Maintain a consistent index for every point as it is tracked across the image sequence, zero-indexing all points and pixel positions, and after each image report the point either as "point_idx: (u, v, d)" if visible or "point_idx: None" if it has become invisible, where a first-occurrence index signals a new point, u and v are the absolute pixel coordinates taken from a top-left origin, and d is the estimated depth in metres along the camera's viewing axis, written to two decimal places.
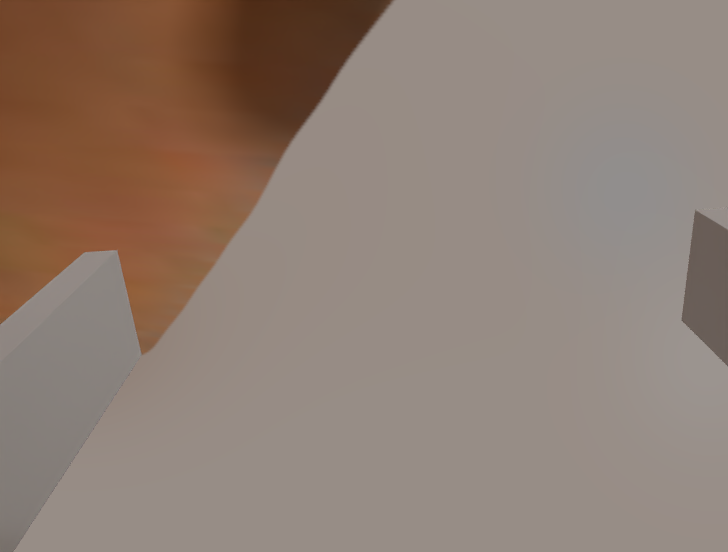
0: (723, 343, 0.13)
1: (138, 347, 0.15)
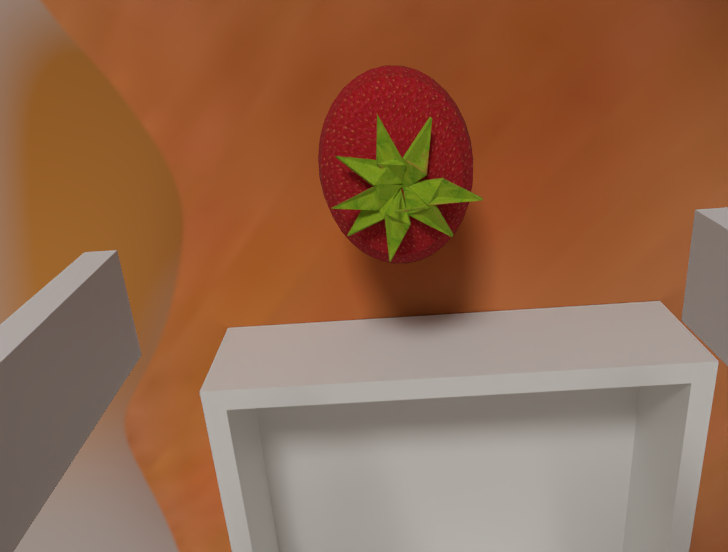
0: (723, 343, 0.13)
1: (138, 347, 0.15)
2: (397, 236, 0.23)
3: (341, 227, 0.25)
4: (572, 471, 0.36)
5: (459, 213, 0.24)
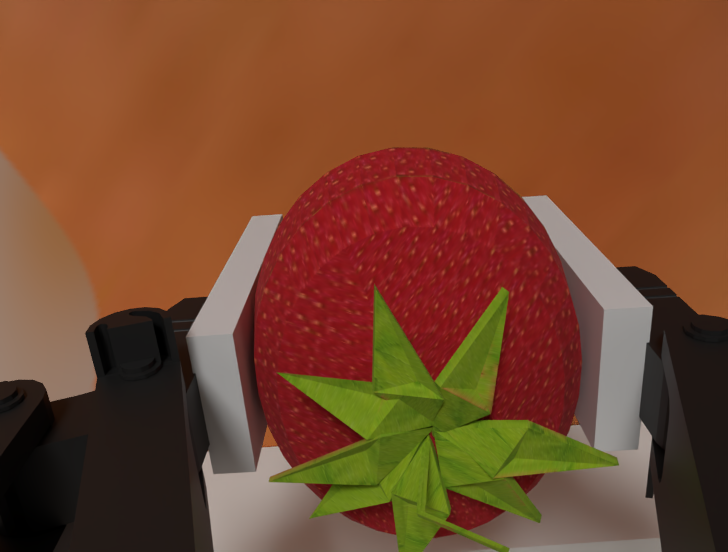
0: None
1: None
2: (419, 534, 0.10)
3: None
4: None
5: None
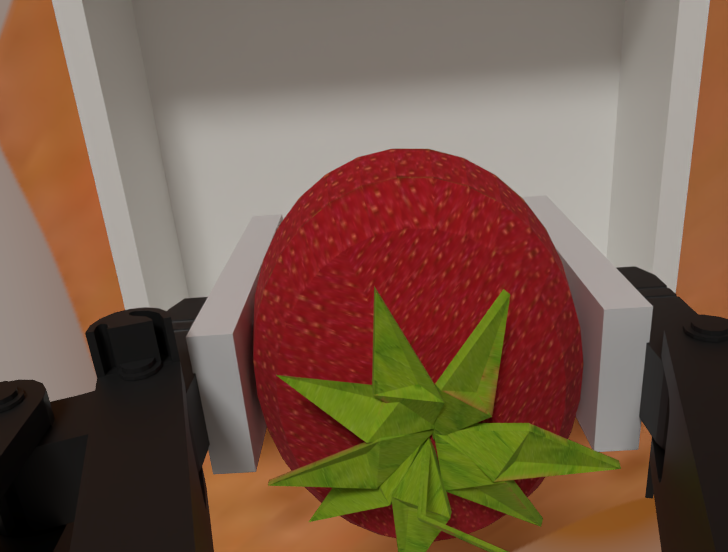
0: None
1: None
2: (420, 538, 0.10)
3: None
4: (541, 154, 0.29)
5: None
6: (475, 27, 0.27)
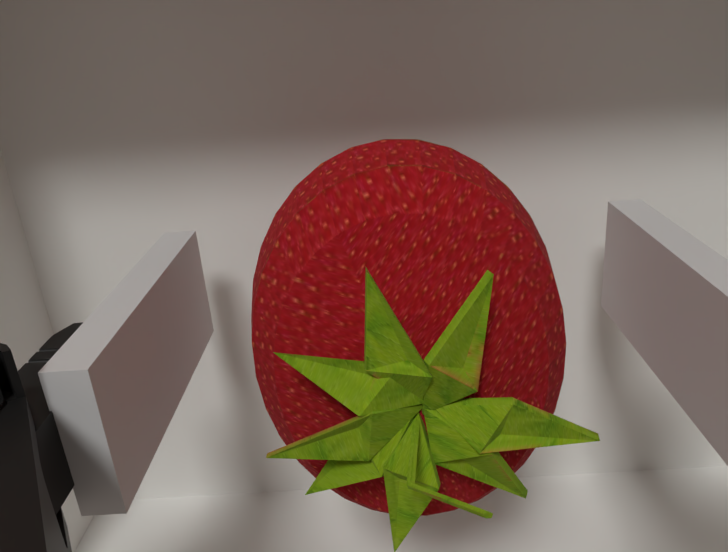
0: (629, 325, 0.14)
1: (211, 323, 0.16)
2: (410, 508, 0.11)
3: None
4: None
5: None
6: (553, 41, 0.15)
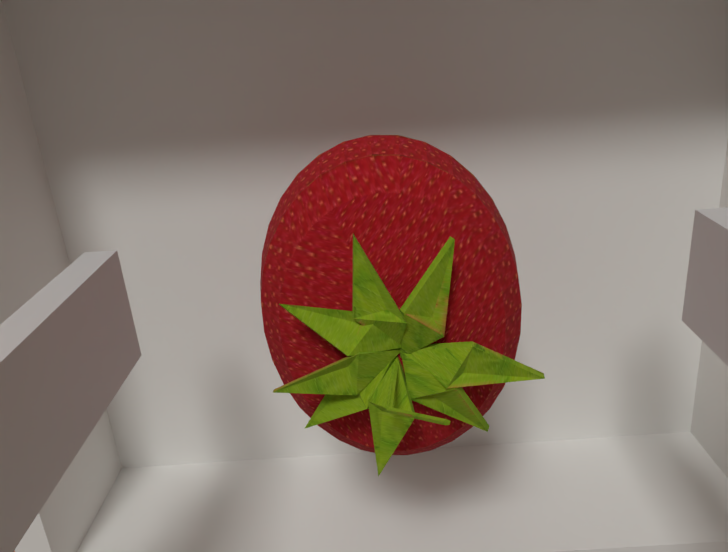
0: (723, 343, 0.13)
1: (138, 347, 0.15)
2: (390, 437, 0.13)
3: (298, 401, 0.15)
4: (611, 235, 0.20)
5: (498, 383, 0.14)
6: (520, 55, 0.18)
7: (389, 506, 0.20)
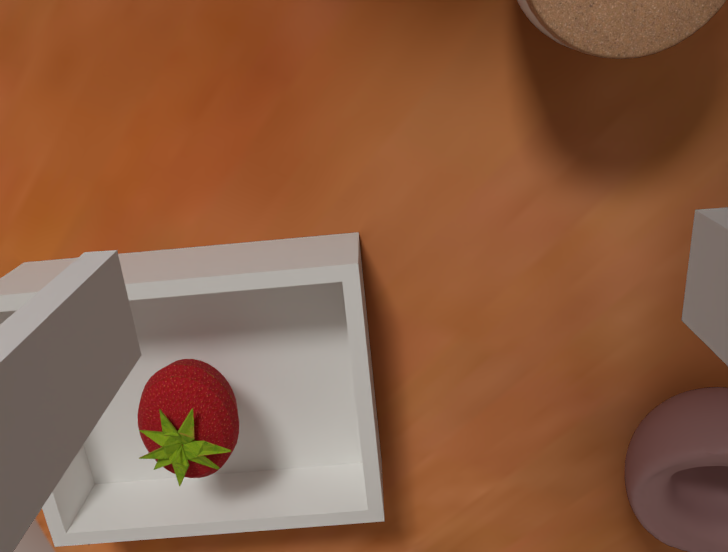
0: (723, 343, 0.13)
1: (138, 347, 0.15)
2: (181, 472, 0.37)
3: None
4: (311, 376, 0.44)
5: None
6: (257, 306, 0.43)
7: (214, 499, 0.45)
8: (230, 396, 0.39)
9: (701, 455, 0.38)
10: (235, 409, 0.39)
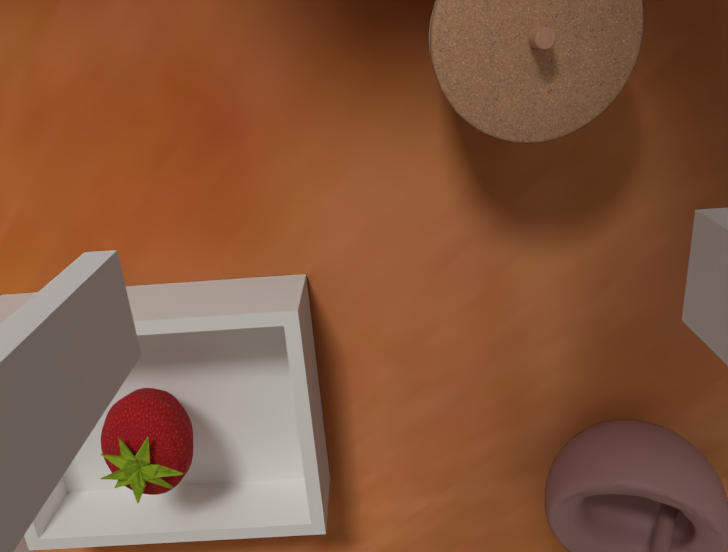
0: (723, 343, 0.13)
1: (138, 347, 0.15)
2: (139, 491, 0.42)
3: None
4: (263, 400, 0.49)
5: None
6: (213, 338, 0.47)
7: (174, 510, 0.49)
8: (184, 423, 0.43)
9: (604, 485, 0.42)
10: (189, 434, 0.43)
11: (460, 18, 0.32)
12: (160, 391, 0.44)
